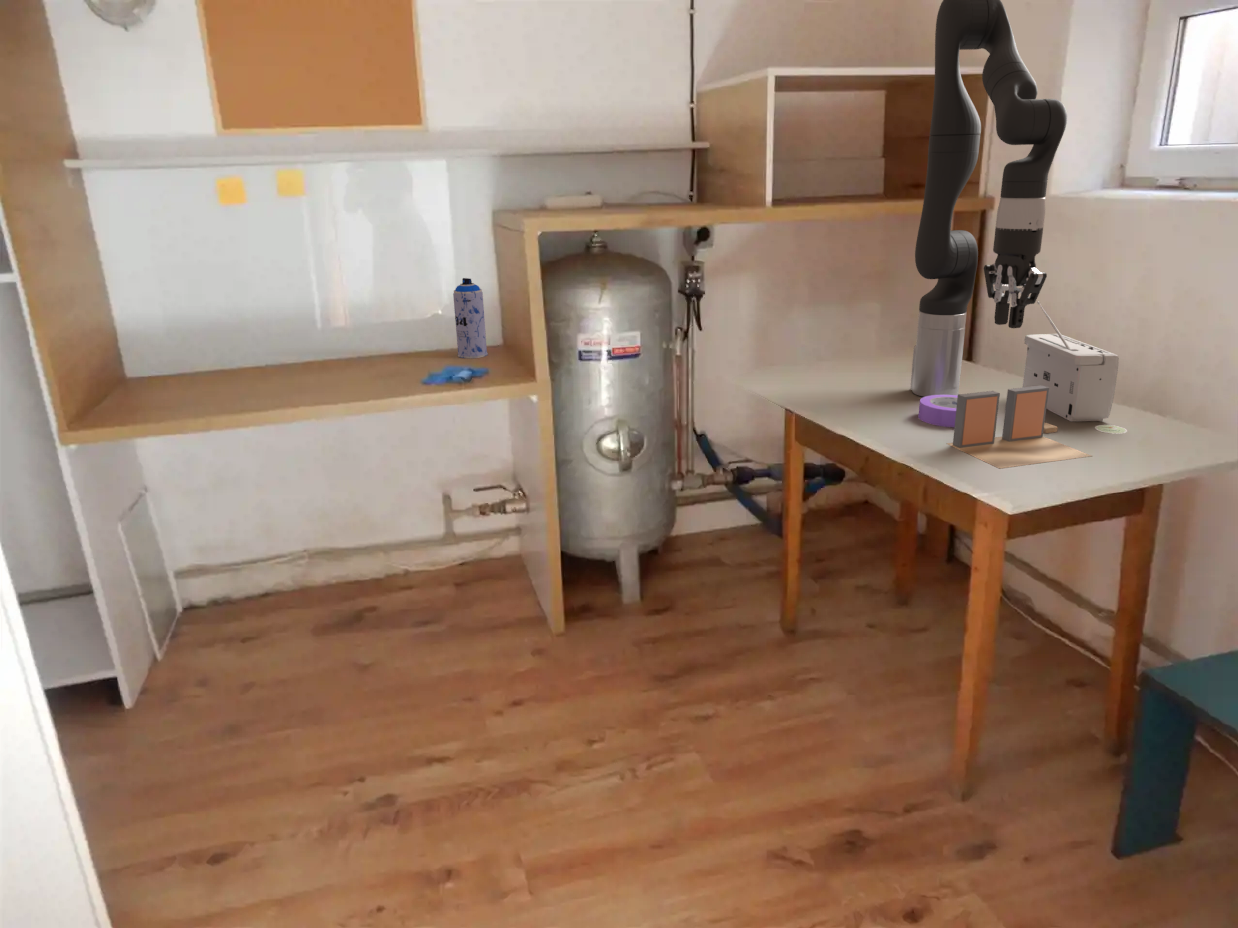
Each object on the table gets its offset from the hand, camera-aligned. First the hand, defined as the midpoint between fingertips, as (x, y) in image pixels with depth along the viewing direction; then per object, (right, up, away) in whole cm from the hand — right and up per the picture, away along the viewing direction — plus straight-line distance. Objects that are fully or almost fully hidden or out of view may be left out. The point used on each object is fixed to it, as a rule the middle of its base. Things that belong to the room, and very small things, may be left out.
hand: (1007, 325), depth 161 cm
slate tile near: (-7, -21, -3) cm, 22 cm away
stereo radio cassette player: (+18, -14, +18) cm, 29 cm away
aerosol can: (-107, +4, +79) cm, 133 cm away
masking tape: (-6, -16, +13) cm, 22 cm away
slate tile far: (+2, -20, 0) cm, 20 cm away
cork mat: (-1, -22, -6) cm, 23 cm away
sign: (+18, -21, -1) cm, 28 cm away
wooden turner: (+8, -19, +5) cm, 21 cm away
